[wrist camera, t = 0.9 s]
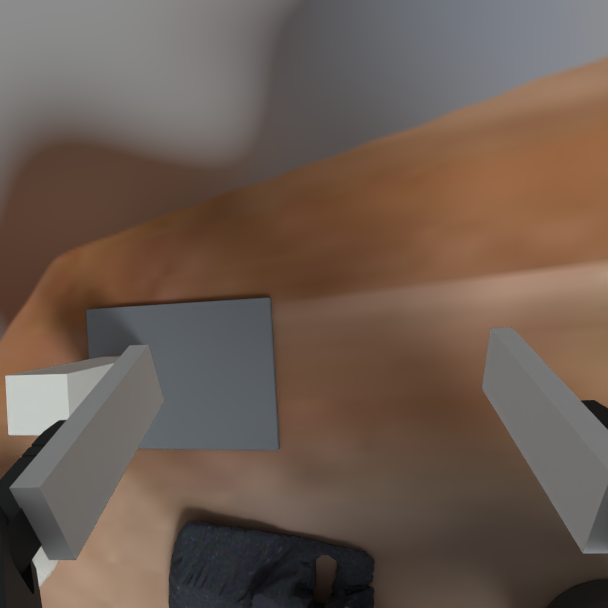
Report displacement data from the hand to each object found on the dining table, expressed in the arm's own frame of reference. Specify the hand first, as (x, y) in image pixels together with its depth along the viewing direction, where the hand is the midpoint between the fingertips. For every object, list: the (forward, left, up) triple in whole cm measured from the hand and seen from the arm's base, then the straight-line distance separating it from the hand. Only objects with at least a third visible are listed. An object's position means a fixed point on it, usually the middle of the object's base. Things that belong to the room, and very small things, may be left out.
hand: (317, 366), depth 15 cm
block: (-5, +26, -24) cm, 36 cm away
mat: (-5, +20, -25) cm, 32 cm away
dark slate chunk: (-28, +11, -26) cm, 39 cm away
